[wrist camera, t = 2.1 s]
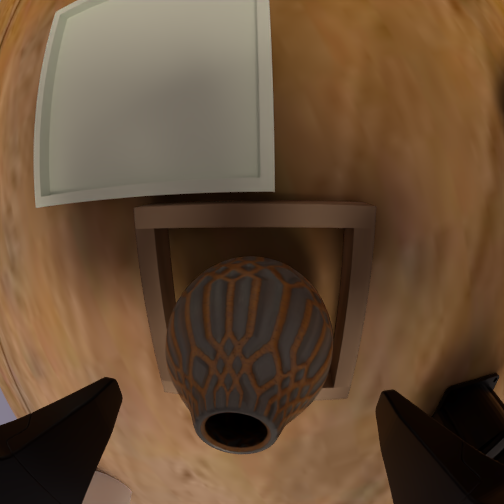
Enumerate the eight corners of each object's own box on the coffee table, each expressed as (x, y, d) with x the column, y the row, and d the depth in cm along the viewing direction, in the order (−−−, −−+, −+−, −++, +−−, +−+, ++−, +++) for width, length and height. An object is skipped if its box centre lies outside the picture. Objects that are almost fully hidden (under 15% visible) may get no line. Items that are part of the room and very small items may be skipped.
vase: (177, 256, 15) (81, 346, 6) (307, 228, 14) (354, 307, 5) (213, 362, 16) (175, 481, 8) (326, 344, 15) (357, 470, 7)
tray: (266, -31, 10) (266, -45, 8) (274, 189, 13) (274, 191, 12) (67, 18, 11) (55, 11, 9) (51, 204, 14) (35, 207, 13)
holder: (364, 202, 13) (376, 206, 11) (342, 379, 16) (347, 398, 14) (149, 203, 14) (133, 208, 12) (172, 374, 17) (164, 392, 15)
